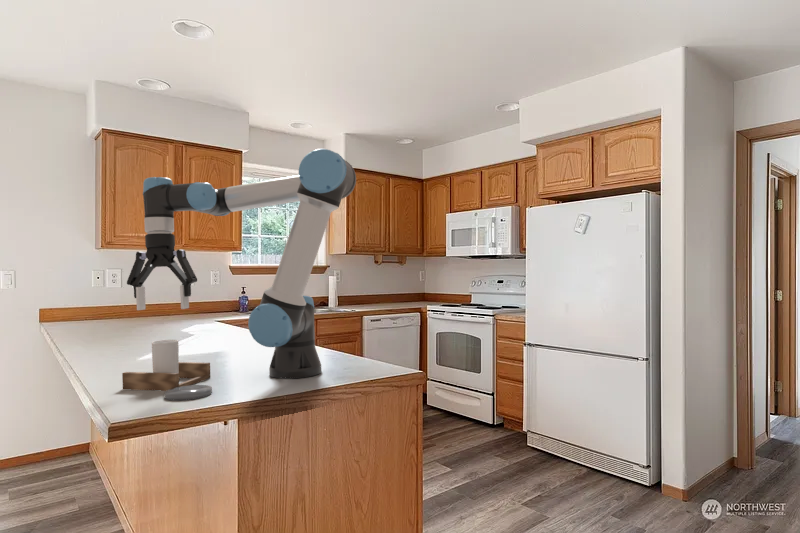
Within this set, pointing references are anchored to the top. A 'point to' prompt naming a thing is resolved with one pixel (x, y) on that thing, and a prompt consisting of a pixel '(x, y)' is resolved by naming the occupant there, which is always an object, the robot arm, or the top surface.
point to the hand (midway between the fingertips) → (163, 309)
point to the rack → (167, 377)
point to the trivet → (188, 392)
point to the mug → (165, 356)
